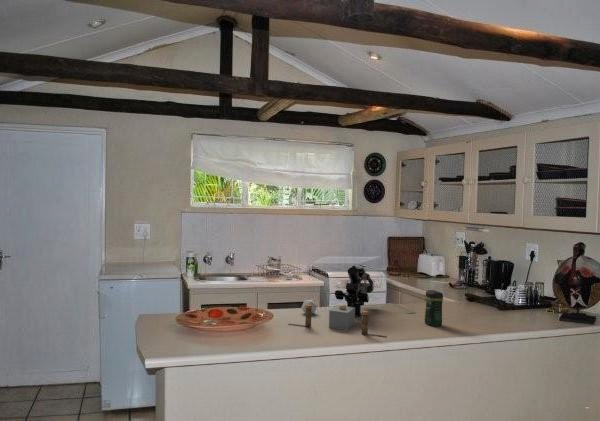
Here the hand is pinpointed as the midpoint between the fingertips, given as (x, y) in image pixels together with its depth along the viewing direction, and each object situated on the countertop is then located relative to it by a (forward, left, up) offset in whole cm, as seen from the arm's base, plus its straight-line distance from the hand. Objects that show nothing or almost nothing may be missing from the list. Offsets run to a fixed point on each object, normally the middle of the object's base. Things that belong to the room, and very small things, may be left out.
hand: (348, 308), depth 276 cm
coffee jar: (-14, +44, -7) cm, 47 cm away
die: (-5, -25, -7) cm, 26 cm away
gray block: (+12, 0, -7) cm, 13 cm away
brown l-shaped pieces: (+23, 0, -7) cm, 24 cm away
